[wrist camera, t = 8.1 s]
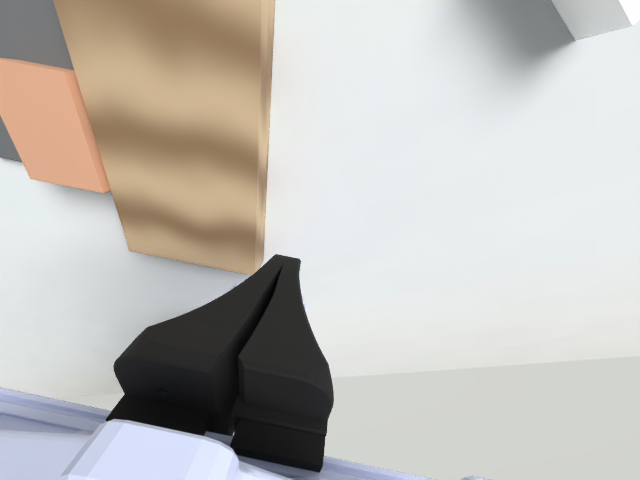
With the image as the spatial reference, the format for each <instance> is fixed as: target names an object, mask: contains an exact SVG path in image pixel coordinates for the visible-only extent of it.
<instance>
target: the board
mask: <svg viewBox="0 0 640 480" xmlns="http://www.w3.org/2000/svg"><path fill="white" fill-rule="evenodd" d="M53 2H54V5H55V8H56V11H57V15H58V18H59V21H60V25H61V28H62V31H63V34H64V38H65V41H66V44H67V48H68V51H69V54H70V57H71V61H72V64H73V67H74V71H75V74H76V77H77V80H78V84H79V87H80V90H81V94H82V97H83V100H84V103H85V107H86V110H87V113H88V117H89V120H90V123H91V126H92V130H93V133H94V136H95V139H96V143H97V146H98V149H99V153H100V156H101V159H102V162H103V166H104V169H105V172H106V176H107V179H108V182H109V185H110V189H111V192H112V195H113V199H114V202H115V205H116V208H117V212H118V215H119V218H120V222H121V225H122V228H123V231H124V235H125V238H126V241H127V245H128V248H129V251H132V252H137V253H142V254H147V255H152V256H157V257H162V258H167V259H172V260H177V261H182V262H187V263H192V264H197V265H202V266H207V267H212V268H217V269H222V270H227V271H232V272H237V273H242V274H247V275H253V274H254V273H255V272H256V271H258V269H259V268H260V266H261V264H262V262H263V256H264V234H265V212H266V190H267V168H268V146H269V124H270V102H271V79H272V57H273V35H274V13H275V0H53Z"/></svg>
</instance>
